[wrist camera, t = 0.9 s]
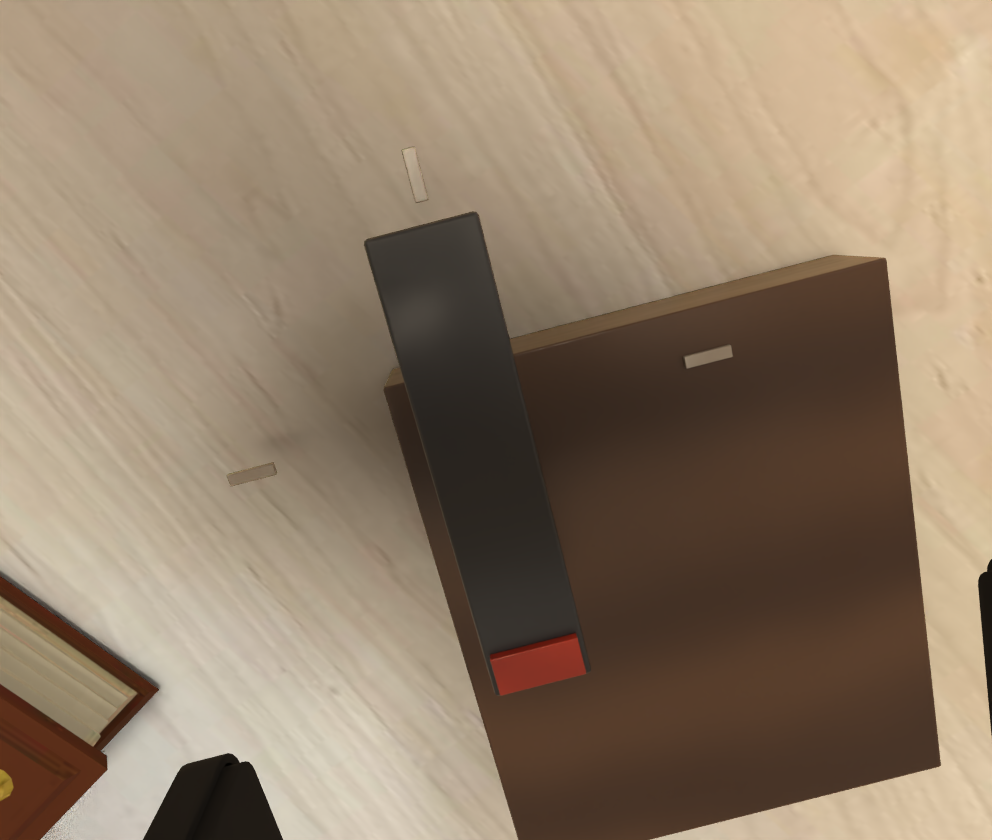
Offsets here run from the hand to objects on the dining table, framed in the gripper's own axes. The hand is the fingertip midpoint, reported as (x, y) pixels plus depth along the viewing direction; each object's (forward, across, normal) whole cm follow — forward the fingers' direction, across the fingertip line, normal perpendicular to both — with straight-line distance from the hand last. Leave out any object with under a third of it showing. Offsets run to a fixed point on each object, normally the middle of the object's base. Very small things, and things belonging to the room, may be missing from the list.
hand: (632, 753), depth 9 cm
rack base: (+16, -1, +3) cm, 16 cm away
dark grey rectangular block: (+13, +1, -1) cm, 13 cm away
